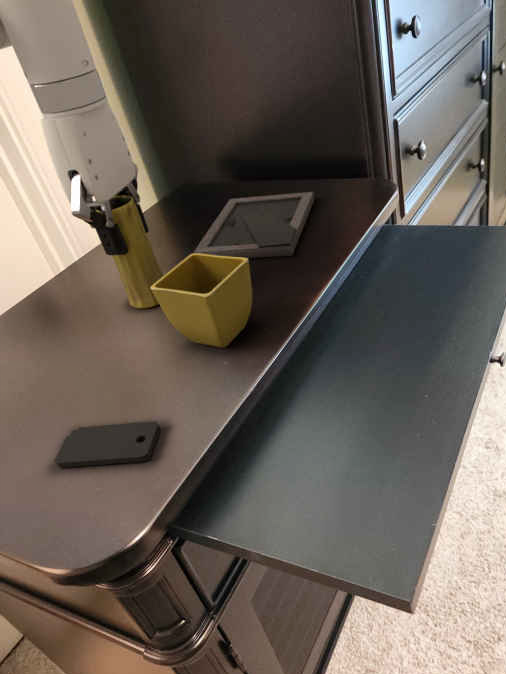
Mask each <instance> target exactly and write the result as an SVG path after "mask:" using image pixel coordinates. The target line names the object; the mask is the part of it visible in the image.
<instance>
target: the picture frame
mask: <svg viewBox="0 0 506 674" xmlns="http://www.w3.org/2000/svg"><path fill="white" fill-rule="evenodd" d="M314 203H315V196H314V191H306V192H305V191H304V192H294V193H283V194H273V195H272V194H271V195H261V196H249V197H239V198H229V199H228V201H227V202H226V204H225V205H224V206H223V209H222V210H221V211H220V213H219V215H217V217H216V219H215V220H214V221H213V223H212V224H211V226H210V228H208V230H207V232H206V233H205V235H204V236H203V237H202V238H201V241H200V242H199V244H198V245H197V247H196V248H195V249H194V250H193V253H200V254H209V255H216V256H229V257H242V258H248V259H256V258H272V257H274V258H275V257H288V256H293V255H294V252H295V251H296V247H297V245H298V243H299V240H300V236H301V235H302V232H303V230H304V227H305V224H306V223H307V219H308V217H309V215H310V212H311V210H312V207H313V204H314Z"/></svg>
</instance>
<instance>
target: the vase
mask: <svg viewBox="0 0 506 674" xmlns="http://www.w3.org/2000/svg"><path fill="white" fill-rule="evenodd" d="M109 201H110V206H111V211H112V216H113V221H114V224H118V225H119V228H120V230H121V233H122V235H123V238H124V240H125V243H126V245H127V248H128V253H127V254H126V255H112V258H113V261H114V263H115V266H116V269H117V272H118V275H119V278H120V280H121V283H122V285H123V288H124V290H125V294H126V295H127V299H128V303H129V305H130V306H131V307H132V308H135V309H143V310H144V309H150V308H153V307H156V306H158V305H160V304H159V302H158V301H157V299H156V297H155V295H154V294H153V292H152V290H151V288H150V287H151V286H152V285H153V284H154V283H156V282H157V281H158V280H159V279H161V278H162V277H163V276H164V274H163V271H162V269H161V267H160V265H159V262H158V260H157V257H156V256H155V253H154V251H153V248H152V246H151V245H152V244H151V243H150V240H149V238H148V235H147V233H146V232H145V229H144V226H143V223H142V220H141V218H140V215H139V212H138V209H137V207H136V204H135V202H134V200H133V197H131V196H128V195H121V196H114V197H113V198H112V199H110V200H109ZM95 208H96V211H97V212H98V213H100V214H102V215H103V213H102V208H101V206H97V207H95Z"/></svg>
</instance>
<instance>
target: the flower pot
mask: <svg viewBox="0 0 506 674" xmlns="http://www.w3.org/2000/svg"><path fill="white" fill-rule="evenodd" d="M251 277H252V276H251V269H250V260H249V258H242V257H229V256H216V255H209V254H200V253H194V252H193V253H190V254H189V255H187V256H186V257H185V258H184V259H183V260H182V261H180V262H179V263H178V264H177V265H176V266H174V267H173V268H171V270H169V271H168V272H167V273H166V274H164V275H163V277H162V278H161V279H159V280H158V281H157V282H156V283H154V284H153V285H152V286H151V287H150V288H151V290H152V292H153V294H154V295H155V297H156V299H157V301H158V302H159V304H158V305H159V306H160V308H161V310H162V311H163V314H164V315H165V317H166V318H167V319H168V321H169V323H171V325H172V326H173V327H174V328H175V329H176V330H177V332H179V333H180V334H181V335H182V336H184V337H186V338H187V339H188V340H190V341H192V342H193V343H194V344H201V345H206V346H210V347H211V346H212V347H216V348H222V349H223V348H226V347H228V346H229V345H230V343H231V342H232V341H233V340H234V339H235V338H236V337H238V335H239V334H240V333H241V332H242V331H243V330H244V329H245V327H246V325H247V323H248V321H249V318H250V315H251V311H252V305H253V285H252V278H251Z"/></svg>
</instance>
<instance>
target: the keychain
mask: <svg viewBox="0 0 506 674" xmlns="http://www.w3.org/2000/svg"><path fill="white" fill-rule="evenodd" d="M160 430H161V427H160V426H159V423H158V421H156V420H153V421H152V420H151V421H140V422H139V421H138V422H127V423H117V424H103V425H93V426H80V427H78V429H73V430H71V432H70V434H69V435H66V437H65V439H64V441H63V442H62V445H61V446H60V449H59V450H58V452H57V454H56V456H55V458H54V463H55V464H56V466H57V467H58V468H72V467H73V468H74V467H86V466H87V467H88V466H99V465H113V464H126V463H127V464H129V463H137V462H139V463H140V462H146V461H148V460H149V459H150V458H151V457H152V453H153V451H154V447H155V444H156V441H157V439H158V437H159V436H158V435H159V432H160Z"/></svg>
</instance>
